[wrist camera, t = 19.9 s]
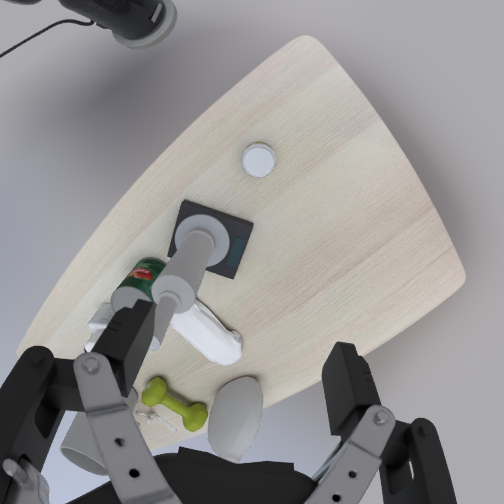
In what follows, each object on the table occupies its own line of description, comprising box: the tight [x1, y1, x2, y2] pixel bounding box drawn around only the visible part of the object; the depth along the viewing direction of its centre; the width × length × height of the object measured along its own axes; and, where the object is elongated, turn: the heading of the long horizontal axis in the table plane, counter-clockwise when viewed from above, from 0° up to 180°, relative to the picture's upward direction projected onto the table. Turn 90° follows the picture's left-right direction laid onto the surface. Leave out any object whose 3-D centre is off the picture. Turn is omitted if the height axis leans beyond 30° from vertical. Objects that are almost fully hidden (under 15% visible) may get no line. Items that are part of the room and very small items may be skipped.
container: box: [84, 303, 114, 353], centre depth 53 cm, size 8×8×13 cm
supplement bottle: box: [241, 142, 276, 177], centre depth 41 cm, size 5×5×8 cm
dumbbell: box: [142, 377, 208, 432], centre depth 64 cm, size 16×8×7 cm, turn 45°
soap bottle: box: [208, 377, 263, 464], centre depth 52 cm, size 14×8×27 cm, turn 131°
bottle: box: [148, 228, 215, 351], centre depth 37 cm, size 5×5×25 cm
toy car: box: [169, 298, 242, 365], centre depth 56 cm, size 18×8×4 cm, turn 43°
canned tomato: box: [111, 257, 167, 314], centre depth 49 cm, size 8×8×11 cm
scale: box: [167, 200, 253, 279], centre depth 50 cm, size 12×10×3 cm
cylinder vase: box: [60, 388, 137, 476], centre depth 57 cm, size 12×12×25 cm
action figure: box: [136, 411, 177, 432], centre depth 71 cm, size 12×5×7 cm
